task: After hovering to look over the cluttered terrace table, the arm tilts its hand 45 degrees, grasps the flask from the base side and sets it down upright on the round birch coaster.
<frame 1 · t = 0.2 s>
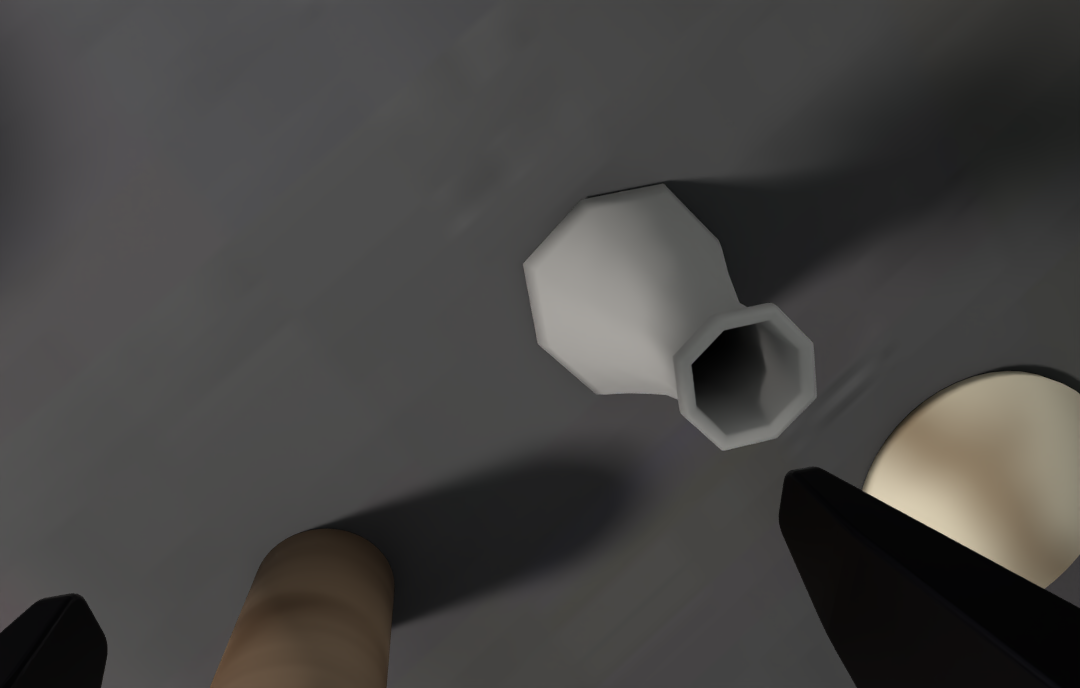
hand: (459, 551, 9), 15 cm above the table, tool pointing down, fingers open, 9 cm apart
coaster: (980, 496, 29), on the table
flask: (624, 289, 25), on the table
pepper shaker: (325, 589, 26), on the table
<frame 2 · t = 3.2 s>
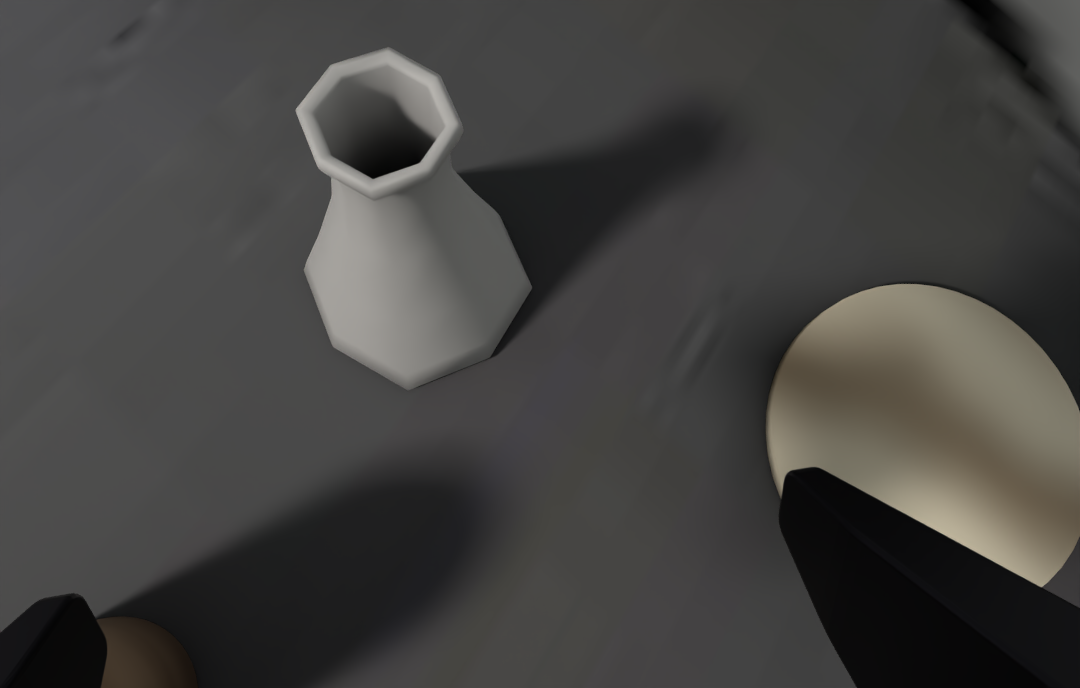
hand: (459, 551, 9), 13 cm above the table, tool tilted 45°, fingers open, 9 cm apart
coaster: (922, 442, 24), on the table
flask: (420, 283, 24), on the table
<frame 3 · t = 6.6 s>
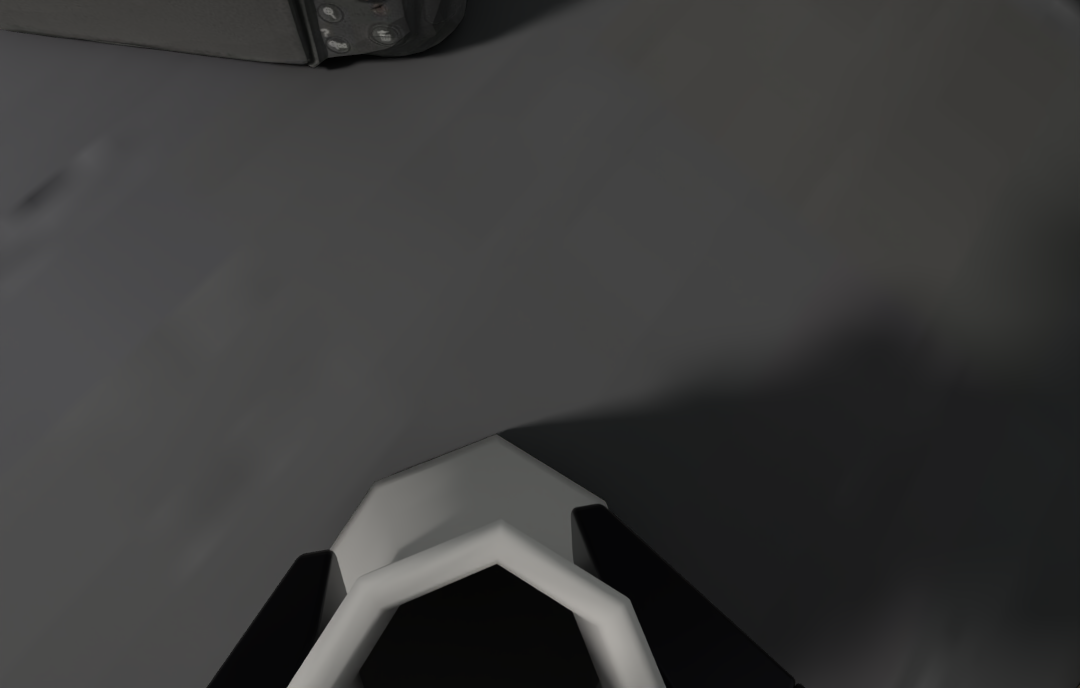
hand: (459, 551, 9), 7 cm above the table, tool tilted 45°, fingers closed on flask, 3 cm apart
flask: (479, 612, 15), on the table, touching gripper
when the fingers open (8 cm above the table, at t = 10.2 s): flask stays where it is, resting on coaster.
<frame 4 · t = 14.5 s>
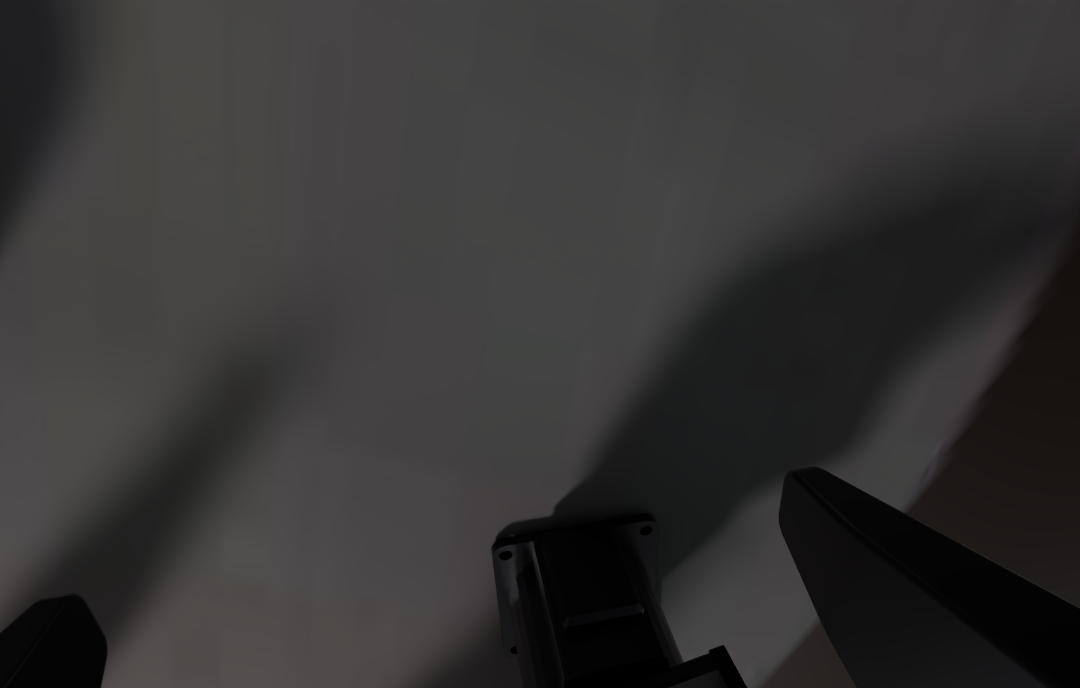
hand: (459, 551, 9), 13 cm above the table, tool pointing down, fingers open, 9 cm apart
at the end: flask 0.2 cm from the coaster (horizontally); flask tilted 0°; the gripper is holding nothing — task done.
